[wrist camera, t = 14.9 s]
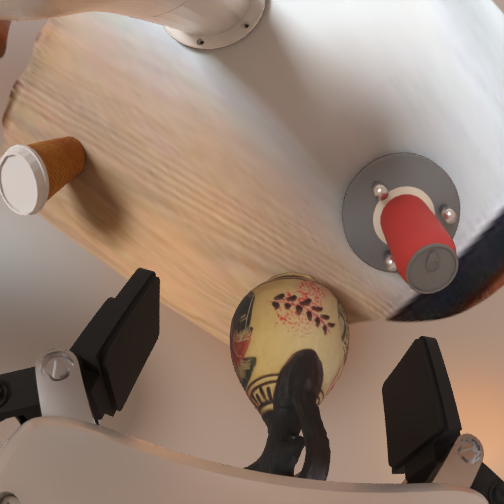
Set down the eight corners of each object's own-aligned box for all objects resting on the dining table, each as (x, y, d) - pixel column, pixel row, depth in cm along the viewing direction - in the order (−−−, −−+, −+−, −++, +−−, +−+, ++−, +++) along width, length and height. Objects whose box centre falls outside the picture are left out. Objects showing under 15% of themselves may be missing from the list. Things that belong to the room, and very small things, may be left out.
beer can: (425, 188, 35) (464, 233, 24) (428, 235, 38) (461, 291, 27) (375, 197, 36) (399, 246, 26) (381, 244, 39) (401, 304, 29)
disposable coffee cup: (88, 121, 39) (30, 142, 28) (99, 183, 43) (48, 218, 33) (44, 131, 40) (-12, 154, 30) (55, 187, 45) (5, 219, 35)
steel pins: (373, 178, 36) (377, 185, 33) (451, 205, 35) (458, 213, 33) (347, 250, 41) (349, 260, 39) (421, 270, 40) (426, 280, 38)
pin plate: (363, 135, 35) (365, 137, 33) (472, 177, 34) (477, 181, 33) (326, 250, 43) (327, 256, 42) (427, 277, 42) (430, 283, 41)
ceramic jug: (303, 348, 53) (285, 522, 27) (224, 304, 51) (160, 484, 25) (374, 283, 44) (405, 488, 19) (287, 224, 42) (246, 447, 17)
